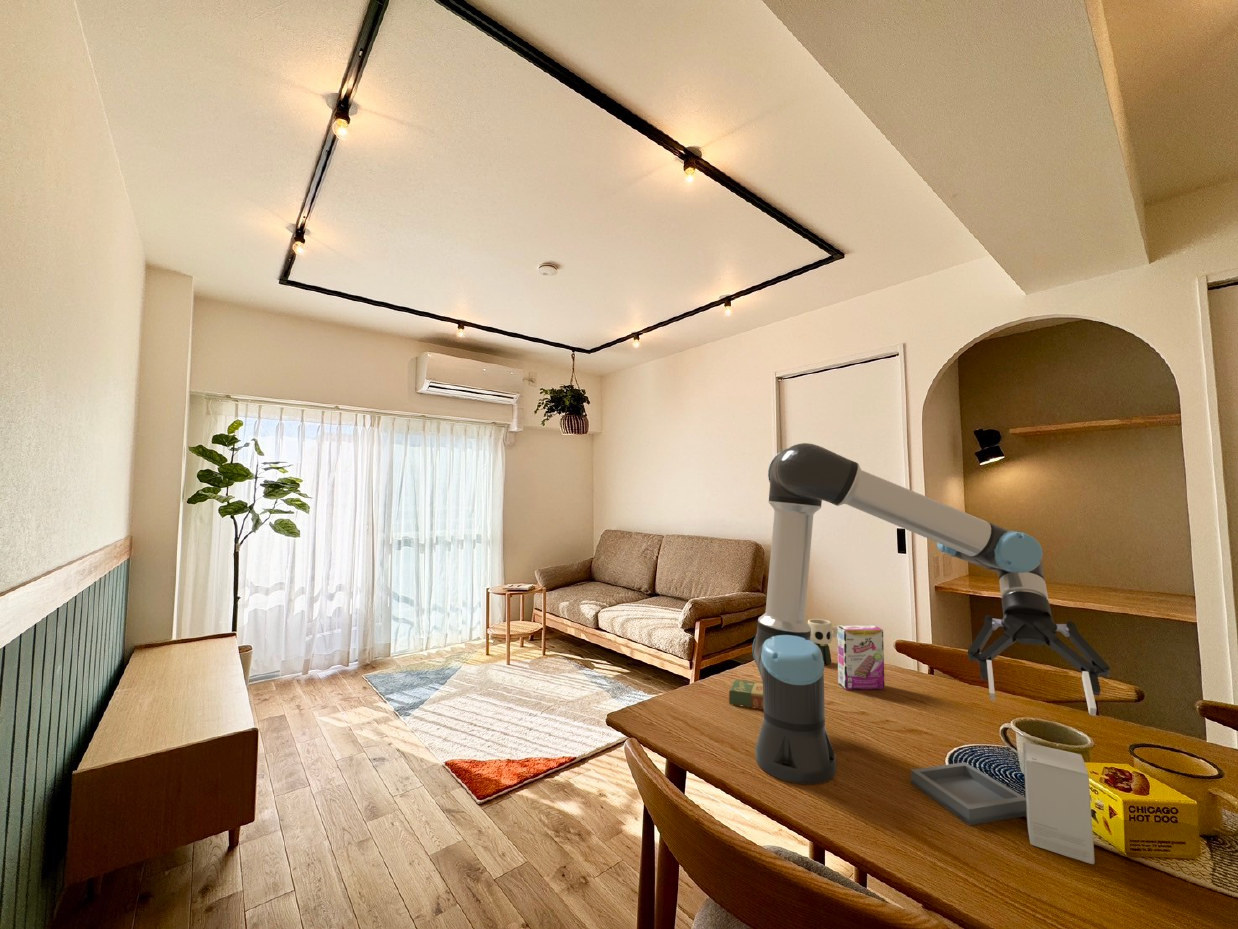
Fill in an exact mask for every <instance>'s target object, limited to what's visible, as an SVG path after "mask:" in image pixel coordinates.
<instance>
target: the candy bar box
mask: <svg viewBox="0 0 1238 929" xmlns="http://www.w3.org/2000/svg"><path fill="white" fill-rule="evenodd" d="M836 631H837V636H836V639H837V640H836V642H837V644H836V645H837V683H838V685H839V684H840V685H839V686H841V687H842V688H843V689H844V690H849V691H850V690H856V691H857V690H859V689H860V690H885V661H884V660H885V658H884V656H885V654H884V653H885V652H884V650H885V649H884V630H883V629H882V628H881V627H878V626H876V625H872V624H870V625H869V624H868V625H866V624H865V625H864V624H863V625H854V624H853V625H849V624H848V625H847V624H846V625H844V624H843V625H841V624H840V625H836ZM860 690H859V691H860Z"/></svg>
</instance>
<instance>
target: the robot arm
mask: <svg viewBox="0 0 1238 929" xmlns="http://www.w3.org/2000/svg"><path fill="white" fill-rule="evenodd" d="M767 477H768V482H769V491H768V492H769V493H768V503H769V505H770V506H771V507H772V508H773V511H774V513H773V523H772V524H773V525H772V536H771V547H770V556H769V557H770V558H769V568H768V569H769V570H768V579H767V580H768V581H767V582H768V583H767V589H766V590H767V592H766V603H765V604H766V605H765V612H764V613H763V614H762V615H761V616H759V617H758V619H757V628H756V635H755V637H754V639H753V643H752V656H753V660H754V663H755V664H756V667H757V670H758V672H759V675H760V678H761V681H762V682H761V683H763V709H764V710H763V720H762V723H761V727H760V731H759V733H758V737H757V740H756V744H755V761H756V763H757V765H758V766H759V767H760V769H761V770H763V771H764V772H766V773H767V774H768V775H770V776H772V777H775V778H777V779H780V780H782V781H785V782H789V783H793V784H799V785H800V784H801V785H816V784H817V785H818V784H823V783H826V782H828V781H831V780H832V779H833V778H834V777H835V775H836V774H837V758H836V754H835V751H834V749H833V746H832V743H831V740H830V737H829V734H828V732H827V728H826V714H825V713H826V710H825V708H826V706H825V677H824V675H825V673H824V671H825V663H824V661H823V657H822V652H821V650H820V648H819V647H818V646H817V645H816V644H815V643H813V642H812V641H810V637H811V627H810V626H809V625H808V621H806V619H805V618H806V608H807V594H808V593H807V592H808V586H809V585H808V583H809V582H808V581H809V573H810V562H811V561H810V558H811V550H812V549H811V548H812V547H811V546H812V535H813V525H814V524H813V523H814V515H815V513H817V512H818V511H820V509H822V503H823V501H824V502H827V503H830V504H832V505H834V506H837V507H839V506H842V505H847V506H849V507H852V508H853V509H857V510H859V511H862V512H864V513H866V514H868V515H870V516H873V517H875V518H877V519H881V520H883V521H885V522H887V523H890V524H892V525H894V526H897V527H899V528H903V529H905V530H907V531H909V532H912V533H914V534H916V535H919V536H921V537H923V538H926V539H928V540H931V541H933V542H935V543H936V547H937V549H938V550H939V551H940V552H942V553H944V554H946V555H949V556H951V558H956V559H960V560H962V561H965V562H968V563H971V564H974V565H976V566H979V567H983V568H985V569H988V570H990V571H993V572H996V573H997V576H998V581H999V590H1000V597H1001V606H1002V613H1003V615H1002V616H1003V617H1002V618H1001V619H1000V618H993V616H992V615H989V614H986V615H985V617H984V624H983V625H982V628H981V629H980V630H979V632H978V634H977V636H976V637H975V638H974V640H973V641H972V643H971V645H970V646H969V647H968V649H967V656H968V660H969V661H971V662H976V663H978V664H979V672H980V673H979V674H980V678H981V680H983V681H988V691H989V692H988V693H989V699H990V701H996V695H995V694H996V692H995V682H994V673H993V672H994V671H993V663H992V661H993V660H994V659H996V658H997V657H998V656H1000V654H1001V653H1003V652H1005V650H1006V649H1007V648H1009V647H1010V646H1012V645H1014V644H1015V643H1016V642H1017V643H1020V644H1021V645H1033V646H1034V645H1035V646H1037V647H1038V646H1039V647H1042V646H1043V645H1046V647H1048V648H1049V649H1050V650H1052V651H1054V652H1056V653H1057V654H1058V655H1060V656H1061V657H1062V658H1063V659H1065V660H1066V661H1067V662H1068V663H1069V664H1071V665H1072V666H1074V667H1075V668H1076V669H1077V670H1078V671H1080V672H1081V673H1082V674H1081V681H1082V686H1083V690H1084V695H1085V699H1086V703H1087V704H1086V705H1087V708H1088V710H1087V711H1088V713H1089V716H1093V717H1096V716H1097V704H1096V700H1095V696H1097V697H1098V696H1099V697H1100V695H1101V685H1100V681H1099V678H1100V677H1103V678H1108V677H1109V676H1110V670H1111V668H1110V665H1108V663H1107V662H1106V661H1105V660H1104V659H1103V658H1102V657H1101V655H1099V654H1098V652H1097V651H1096V650H1095V649H1094V648H1093V647H1092V645H1090V644H1089V642H1088V641H1087V640H1086V639H1085V638H1084V637H1083V636H1082V635H1081V634H1080V633H1079V631H1078V629H1077V626H1076V623H1075V622H1073V621H1070V620H1069V621H1067V622H1066V623H1056V622H1055V621H1054V619H1053V617H1052V610H1051V606H1050V600H1049V595H1048V591H1047V585H1046V584H1047V583H1046V580H1045V572H1044V567H1043V561H1042V560H1043V548H1042V546H1041V544H1040V542H1039V541H1038V540H1037V538H1035V537H1034V536H1032V535H1030V534H1027V533H1025V532H1022V531H1018V530H1009V529H1006V528H1004V527H1001V526H999V525H996V524H994V523H991V522H988V521H987V520H984V519H982V518H979V517H977V516H974V515H973V514H969V513H968V512H965V511H962V510H959V509H957V508H955V507H952V506H950V505H947V504H945V503H942V502H940V501H938V500H936V499H932V498H930V497H928V496H926V495H923V494H921V493H918V492H916V491H914V490H911V489H908V488H906V487H904V486H901V485H900V484H897V483H893V482H891V481H889V480H887V479H885V478H881V477H879V476H876V475H875V474H872V473H869V472H867V471H865V470H863V469H862V468H861V466H860V463H858V462H857V461H854V460H851V459H849V458H846V457H844V456H842V455H841V454H837V453H836V452H833V451H832V450H829V449H827V448H824V447H823V446H820V445H818V444H813V443H809V442H808V443H807V442H803V443H797V444H794V445H792V446H789V447H788V448H785V449H783V450H781V451H780V452H778V453H777V454H776V455H775V456H774V457H773V459H772V460H771V462H770V464H769V466H768V471H767ZM999 627H1002V629H1003V630H1004V632H1003V633H1002V635H1001V636H999V637H998V638H997V639H995V641H994V642H992V643H991V644H990V645H989V646H988V647H986V648H985V649H984V647H985V645H986V644H987V642H988V641H989V639H990V637H991V636H992V634H993V631H996V630H997V629H998V628H999ZM1057 632H1060V633H1061V634H1062V635H1063V636H1064V637H1066V638H1068V639H1069V640H1070V642H1071V643H1072V644H1073V646H1075V648H1076V649H1077V650H1078V651H1079V652H1080V654H1082V656H1081V655H1080V654H1079V653H1077V652H1076V651H1075V650H1074V649H1072V648H1071V647H1070V646H1068V645H1067V644H1066V643H1064V642H1063V641H1062V640H1061V639H1060V638H1059V637H1058V636H1057V635H1056V634H1057ZM983 649H984V650H983ZM982 650H983V651H982Z"/></svg>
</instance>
